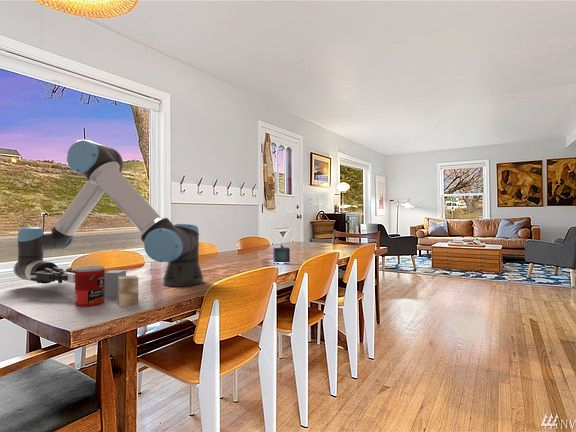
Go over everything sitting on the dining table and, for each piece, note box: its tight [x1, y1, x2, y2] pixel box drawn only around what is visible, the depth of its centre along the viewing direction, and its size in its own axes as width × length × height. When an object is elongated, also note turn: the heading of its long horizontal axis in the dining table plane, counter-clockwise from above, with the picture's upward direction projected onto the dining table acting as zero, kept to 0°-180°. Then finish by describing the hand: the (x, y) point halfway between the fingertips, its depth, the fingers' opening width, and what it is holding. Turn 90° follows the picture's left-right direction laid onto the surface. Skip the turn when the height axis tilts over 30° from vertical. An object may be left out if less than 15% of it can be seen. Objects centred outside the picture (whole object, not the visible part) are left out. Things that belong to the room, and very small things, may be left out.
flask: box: [272, 244, 291, 263], centre depth 190 cm, size 9×3×11 cm, turn 84°
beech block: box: [117, 274, 139, 307], centre depth 104 cm, size 5×5×8 cm
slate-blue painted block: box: [105, 269, 127, 298], centre depth 115 cm, size 5×5×8 cm
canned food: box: [74, 265, 106, 308], centre depth 103 cm, size 8×8×11 cm
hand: (75, 278), depth 108 cm, fingers closed
